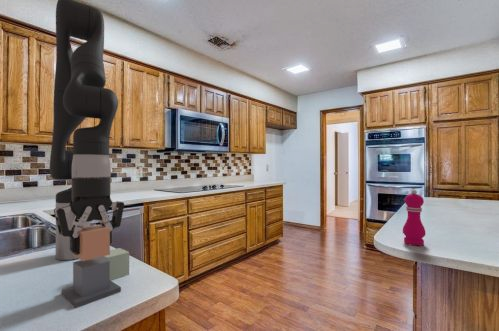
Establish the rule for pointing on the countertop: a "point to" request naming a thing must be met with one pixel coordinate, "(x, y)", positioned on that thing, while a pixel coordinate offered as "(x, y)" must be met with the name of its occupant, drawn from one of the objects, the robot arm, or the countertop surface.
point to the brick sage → (118, 263)
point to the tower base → (89, 297)
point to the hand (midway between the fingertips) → (91, 250)
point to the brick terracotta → (94, 242)
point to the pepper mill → (414, 220)
